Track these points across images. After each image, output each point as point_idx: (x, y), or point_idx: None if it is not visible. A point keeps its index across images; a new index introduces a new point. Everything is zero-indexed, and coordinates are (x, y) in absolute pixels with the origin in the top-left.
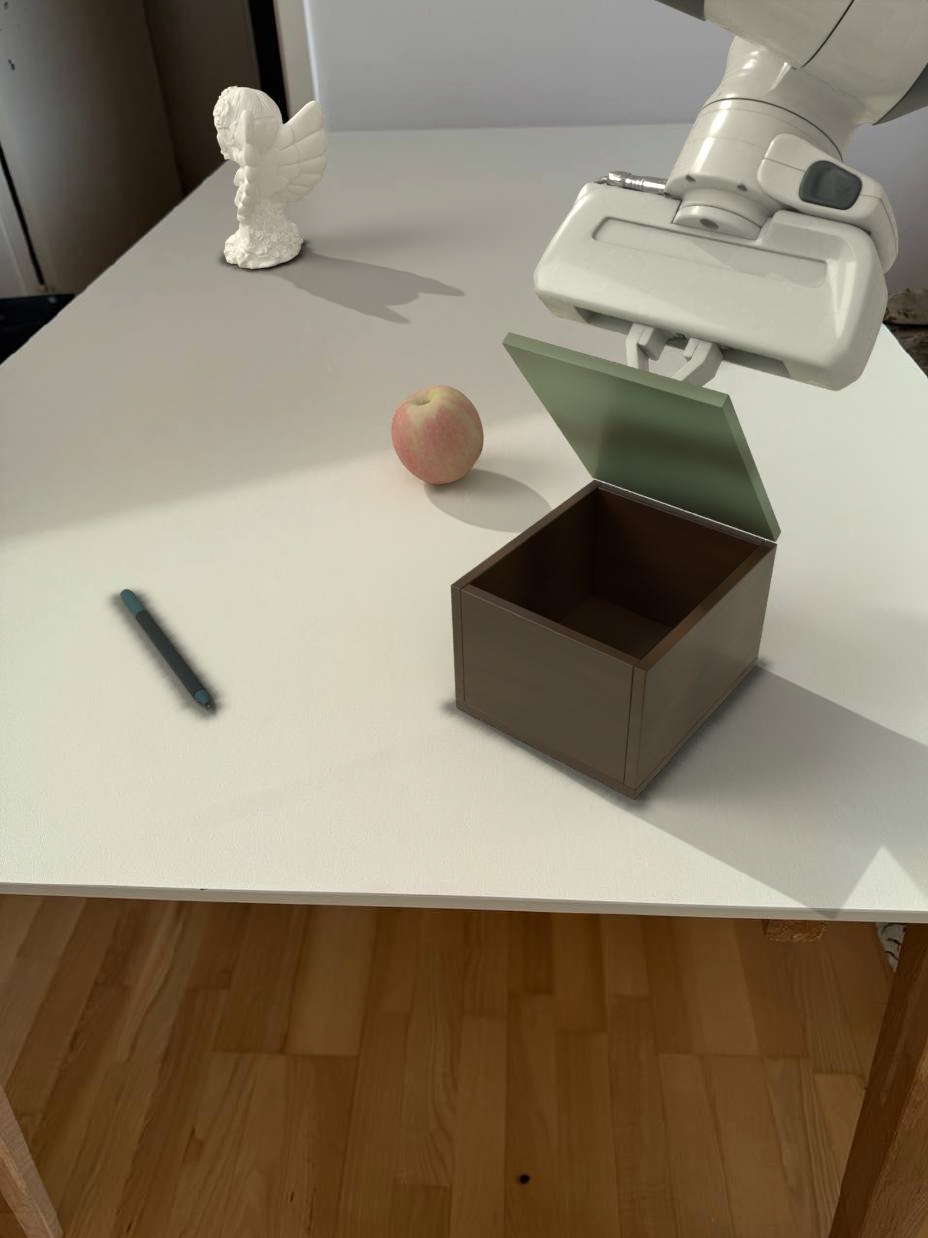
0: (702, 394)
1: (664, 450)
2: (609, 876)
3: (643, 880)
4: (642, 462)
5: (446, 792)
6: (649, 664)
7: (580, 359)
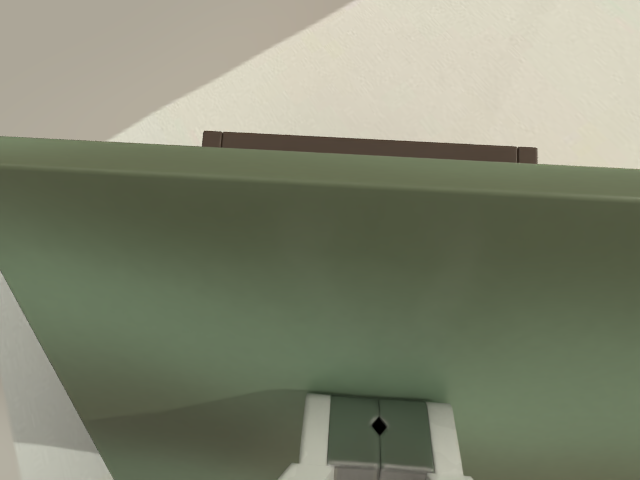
0: (37, 149)
1: None
2: (219, 100)
3: (191, 112)
4: None
5: (404, 100)
6: (207, 146)
7: (528, 173)
